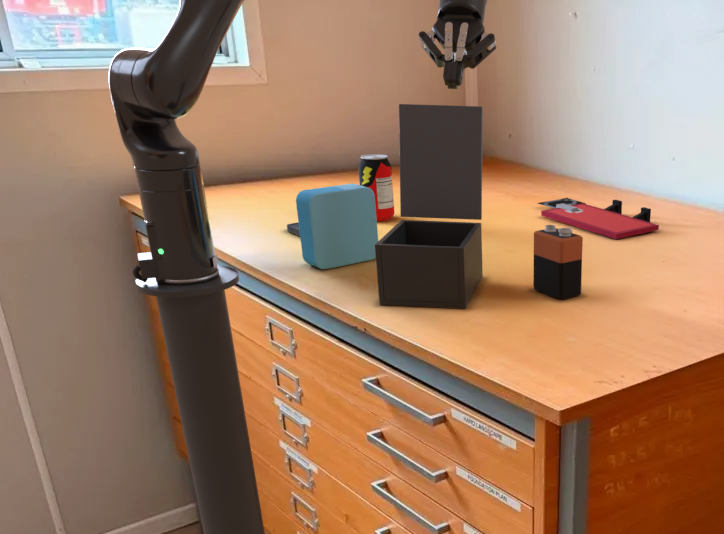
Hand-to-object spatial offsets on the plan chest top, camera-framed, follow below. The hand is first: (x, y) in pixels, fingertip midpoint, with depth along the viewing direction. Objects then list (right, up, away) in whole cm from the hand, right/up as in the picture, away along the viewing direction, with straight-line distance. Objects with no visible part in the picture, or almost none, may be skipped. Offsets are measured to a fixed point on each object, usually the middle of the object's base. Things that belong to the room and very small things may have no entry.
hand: (451, 85), depth 138 cm
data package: (-19, -27, +7) cm, 34 cm away
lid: (-1, -14, -6) cm, 15 cm away
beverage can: (-19, -12, +36) cm, 42 cm away
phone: (-27, -18, +23) cm, 40 cm away
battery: (+17, -34, -5) cm, 38 cm away
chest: (-2, -34, -6) cm, 34 cm away
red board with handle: (+24, -11, +39) cm, 47 cm away
